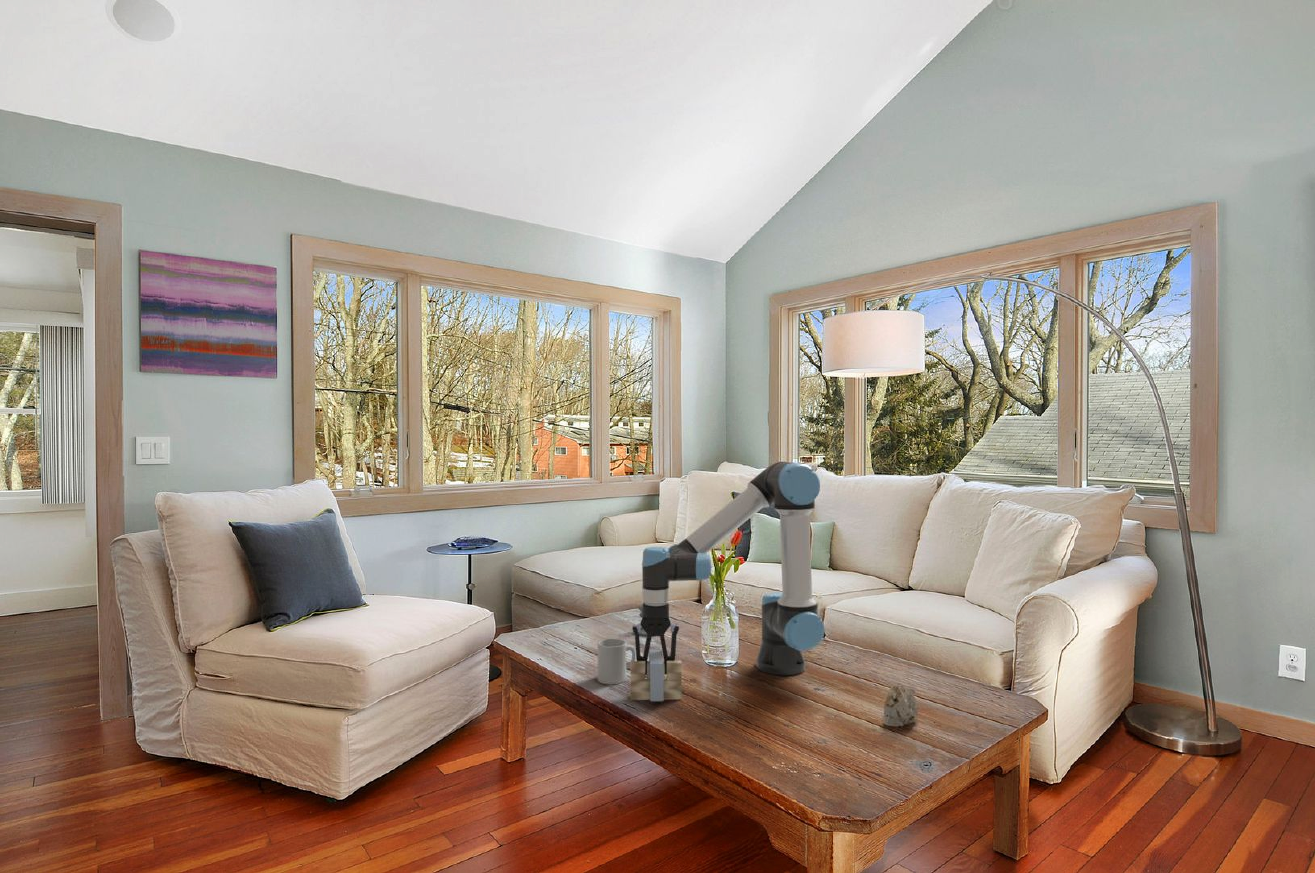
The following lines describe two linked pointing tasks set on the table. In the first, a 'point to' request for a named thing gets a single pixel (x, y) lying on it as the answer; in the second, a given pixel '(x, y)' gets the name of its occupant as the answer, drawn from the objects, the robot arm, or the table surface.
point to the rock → (900, 706)
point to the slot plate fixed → (642, 685)
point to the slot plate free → (656, 675)
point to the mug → (613, 660)
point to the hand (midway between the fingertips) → (655, 685)
